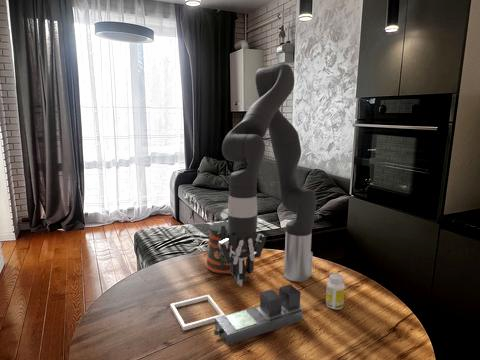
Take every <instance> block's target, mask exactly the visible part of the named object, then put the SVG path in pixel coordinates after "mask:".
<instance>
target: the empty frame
mask: <svg viewBox="0 0 480 360" xmlns="http://www.w3.org/2000/svg"><path fill="white" fill-rule="evenodd" d="M203 301H208V303H209V304H210V305H211V306H212V308H213V309H214V310H215V312H216V313H217V314H218V315H214V316H211V317H206V318H204V319H203V318H202V319H200V320H197V321H192V322H189V323H185V322H184V319H183V318H182V316H181V315H180V313H179V311H178V309H177V308H179V307H184V306H187V305H189V306H190V305H191V304H197V303H199V302H203ZM169 305H170V309H171V311H172V313H173V315H174V316H175V319H176V320H177V322H178V324H179V325H180V327H181V330H182V331H183V332H184V331H187V330H190V329H194V328H197V327H201V326H205V325H208V324H211V323H215V318H218V317H221V316H225V315H226V314H225V313H224V312H223V310H222V309H221V308H220V306H219V305H218V304H217V303H216V302H215V301H214V299H213V298H212V297H211V296H210V294H206V295H201V296H196V297H194V298H190V299H185V300H182V301H177V302H173V303H170V304H169Z"/></svg>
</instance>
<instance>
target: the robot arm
mask: <svg viewBox="0 0 480 360" xmlns="http://www.w3.org/2000/svg"><path fill="white" fill-rule="evenodd" d="M254 79H255V86H256V90H257V91H256V92H257V94H258V97H259V98H258V99H257V100H255V102H253V103H252V104H251V105H250V106H249V108H248V110H247V111H246V113H245V115H244V116H243V118H242V121H240V122H239V123H238V124H237V125H235V127H233V128H232V129H231V130H230V131H229V132H228V133H227V134H226V135H225V137H224V139H223V141H222V145H221V152H222V156H223V157H224V158H225V160H226V161H228V162H232V163H233V162H234V163H245V164H246V163H247V165H246V167H245V169H243V170H237V171H233V172H231V173H230V175H229V178H228V179H229V181H228V186H229V187H228V201H227V222H228V235H227V239H225V240H223V241H218V242H217V244H218V247H219V250H220V252H221V255H222V257H223V260H225V261H226V262H227V263H228V264H230V272H231V275H232V276H233V277H234V278H237V277H238V264H237V262H238V257H239V256H240V253H241V251H242V250H247V251H248V250H249V251H250V253H249V254H250V255H249V256H248V257H247V258H245V267H246V273H247V274H249V275H250V274H252V273H253V271H254V266H255V265H254V262H255V259H256V258H260V257H261V255H262V252H263V249H264V246H265V244H266V241H267V236H265V235H264V234H262V233H258V231H257V229H258V197H257V196H258V195H257V192H258V191H257V189H258V186H257V185H258V177H259V172H260V169H261V165H262V162H263V158H264V155H265V151H266V144H265V141H264V139H263V138H264V137H265V135H266V133H267V131H268V133H269V137H270V143H271V148H272V152H273V157H274V160H275V165H276V170H277V174H278V175H277V176H278V179H279V187H280V197H281V203H282V206H283V208H284V209H285V210H286V211H288V212H290V213H294V214H296V218H295V220H294V219H293V220H290V221H287V223H286V224H285V238H284V239H285V242H284V243H285V244H284V246H285V247H284V263H283V264H284V266H283V277H284V278H286V279H287V280H288V281H292V282H295V283H297V282H298V283H299V282H300V283H302V282H306V281H307V280H309V278H311V277H312V275H313V273H312V272H313V256H314V255H313V254H314V252H313V251H312V250H311V249H312V235H313V234H312V233H313V231H312V230H313V227H314V225H315V219H316V210H317V209H316V208H317V196H316V193H315V192H314V191H313V190H312V189H310V188H309V189H307V188H305V187H304V188H303V187H299V186H298V181H297V177H296V171H297V167H298V165H299V162H300V160H301V158H302V157H301V156H302V146H301V142H300V135H299V133H298V131H297V130H296V128H295V126H294V125H293V124H292V123H291V122H290V121H289V120H288V119H287V118H286V117H285V116H284V115H283V113H282V112H281V110H280V107H281V106H282V105H283V104H284V102H285V101H286V100H287V98H289V96H290V95H291V93H292V92H293V90H294V87H295V74H294V71H293V68H292V67H291V65H290V64H287V63H280V64H279V63H278V64H275V65H269V66H265V67H261V68H258V69H257V70H256V73H255V77H254ZM228 243H230V245H231V249H230V252H231V253H230V256H229V253H228V251H227V248H228ZM235 250H236V251H235ZM233 255H234V257H233Z"/></svg>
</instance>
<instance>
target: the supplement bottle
mask: <svg viewBox="0 0 480 360" xmlns="http://www.w3.org/2000/svg"><path fill="white" fill-rule="evenodd" d="M345 287H346V286H345V283H344V276H343V275H341V274H340V273H330V274H329V280H328V281H327V282H326V292H325V305H326V306H327V308H329V309H333V310H341V309H343V307H344V304H345V303H344V302H345V290H346V289H345Z"/></svg>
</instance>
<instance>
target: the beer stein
mask: <svg viewBox="0 0 480 360" xmlns="http://www.w3.org/2000/svg"><path fill="white" fill-rule="evenodd" d="M209 230H210V232H209V237H208V244H209V245H208V252H207V255H206V259H207V260H206V268H207V269H208V270H209V271H210V272H213V273H214V274H215V273H216V274H220V275H221V274H222V275H226V274H227V275H228V274H229V275H230V274H231V272H230V264H228V263H227V262H226V261H225V260H223V257H222V255H221V252H220V250H219V247H218V244H217V242H218V241H223V240H225V239H227V235H228V220H227V219H225V220H224V221H220V222H216V223H212V224H211V225H210V226H209ZM230 249H231V245H230V243H228V248H227V251H228V253H229V256H230V253H231V252H230ZM231 275H232V274H231Z"/></svg>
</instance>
